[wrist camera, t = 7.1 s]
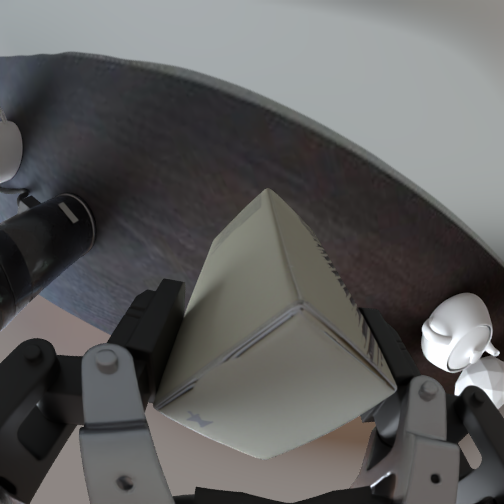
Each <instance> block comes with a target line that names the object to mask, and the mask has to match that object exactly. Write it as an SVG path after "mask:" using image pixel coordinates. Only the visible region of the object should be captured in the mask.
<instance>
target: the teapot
mask: <svg viewBox="0 0 504 504" xmlns="http://www.w3.org/2000/svg"><path fill="white" fill-rule="evenodd" d="M492 331H493V329H492V324H491V320H490V316H489V313H488V310H487V308H486V306H485V304H484V302H483V301H482V300H481V298H479V297H478V296H477V295H475V294H472V293H461V294H457V295H455V296H453V297H451V298H449V299H447V300H445V301H444V302H442V303H441V304H440V305H439V306H438V307H437V308H436V309H435V310H434V312H433V313H432V314H431V316H430V318H429V319H427V320H426V321H425V322H424V324H423V326H422V332H423V334H422V338H421V347H422V351H423V353H424V355H425V357H426V358H427V359H428V360H429V361H430V362H431V363H433V364H434V365H436V366H437V367H439V368H441V369H443V370H445V371H447V372H451V373H455V372H459V371H462V370H464V369H466V368H467V367H469V366H470V365H472V364H474V363H476V362H477V361H478V360H479V359H480V358H481V356H482V354H483V352H484V351H486V352H488V353H490V354H491V355H493V356H498V355H499V354H500V352H499V351H498V350H497V349H495V347H494V346H493V345H492V343H491V342H490V340H491V337H492Z"/></svg>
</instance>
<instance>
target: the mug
mask: <svg viewBox="0 0 504 504" xmlns="http://www.w3.org/2000/svg"><path fill="white" fill-rule="evenodd" d="M0 117H1V119H2V121H0V183H2V182H5V181H7V180H10V179H11V178H12V177H13V176H15V174H16V172H17V171H18V168H19V166H20V163H21V158H22V149H23V145H22V137H21V133H20V131H19V129H18V127H17V125H16V124H15V123H14V122H11V121H7V119H6V116H5V114H4V112H3V110H2V108H1V107H0Z"/></svg>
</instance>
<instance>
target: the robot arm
mask: <svg viewBox="0 0 504 504" xmlns="http://www.w3.org/2000/svg"><path fill="white" fill-rule="evenodd" d="M0 192H1V193H5V194H17V193H22V194H20V195H19V196H18V198H17V204H18V207H19V208H18V213H17V215H15V216H13V217H11V218H9V219H7V220H5V221H3V222H1V223H0V331H2V329H4V328H5V327H6V326H7V325H8V324H9V323H10V322H11V321H12V319H13V318H14V317H15V316H16V315H17V314H18V313H19V312H20V311H21V310H22V309H23V308H24V307H25V306H27V304H28V303H29V302H31V300H33V299H34V298H35V297H36V296H37V295H38V294H39V293H40V292H41V291H42V290H43V289H44V288H46V287H47V286H48V285H49V284H50V283H51V282H52V281H53V280H54V279H56V278H57V277H58V276H59V275H60V274H61V273H62V272H64V271H65V270H66V269H67V268H68V267H69V266H71V265H72V264H73V263H74V262H75V261H77V260H78V259H79V258H80V257H82V256H84V255H85V254H86V253H87V252H89V251H90V249H91V248H92V247H93V245H94V242H95V238H96V224H95V219H94V216H93V214H92V212H91V210H90V208H89V206H88V205H87V204H86V202H85V201H84V200H83V199H81V198H80V197H79V196H77V195H75V194H72V193H63V194H60V195H58V196H56V197H54V198H52V199H50V200H48V201H45V202H43V203H40V202H39V201H38V200H36V199H35V198H34V197H33V196H29V197H27V196H28V195H29V192H28V190H27V189H6V188H2V187H0ZM26 197H27V198H26ZM184 305H185V282H181V281H175V280H170V279H163V280H162V282H161V284H160V285H159V287H158V289H157V290H156V291H152V290H146V291H144V292H143V293H141V294H140V295H138V296H136V298H135V299H134V301H133V302H132V304H131V306H130V307H129V309H128V310H127V312H126V314H125V315H124V316H123V318H122V319H121V321H120V322H119V324H118V326H117V327H116V329H115V330H114V332H113V333H112V335H111V337H110V338H109V340H108V342H107V343H103V344H98V345H96V346H93V347H92V348H90V349H89V350H88V351H87V352H86V353H85V354H84V356H64V355H56V352H55V349H54V347H53V345H52V344H51V343H50V342H48V341H47V340H44V339H39V338H34V339H29V340H26V341H24V342H22V343H21V344H20V345H18V346H17V347H16V349H14V350H13V351H12V352H11V353H10V354H9V355H8V356H7V357H6V358H5V359H4V360H3V361H2V362H1V363H0V504H30V502H31V500H32V498H33V497H34V495H35V493H36V491H37V490H38V488H39V486H40V484H41V483H42V481H43V479H44V477H45V476H46V474H47V473H48V471H49V469H50V467H51V466H52V464H53V463H54V461H55V459H56V458H57V456H58V454H59V453H60V451H61V450H62V448H63V446H64V445H65V443H66V441H67V439H68V438H69V437H70V435H71V433H72V432H73V431H74V429H75V427H76V426H77V425H84V427H81V428H80V430H79V441H80V451H81V458H82V464H83V470H84V476H85V481H86V486H87V490H88V495H89V500H90V504H504V418H503V417H502V415H501V414H500V412H499V411H498V409H497V408H496V406H495V405H494V403H493V402H492V401H491V399H490V398H489V396H488V395H487V394H486V392H485V391H484V390H482V389H481V388H479V387H477V386H474V385H469V386H467V387H465V389H464V390H463V391H462V392H461V394H460V395H459V396H457V395H451V394H446V393H445V391H444V389H443V387H442V386H441V385H440V384H439V383H438V382H437V381H436V380H435V379H433V378H431V377H428V376H424V375H421V374H420V372H419V370H418V369H417V367H416V365H415V363H414V361H413V359H412V358H411V356H410V354H409V352H408V350H406V347H405V345H404V343H402V340H401V338H400V336H399V335H398V333H397V331H396V330H394V329H393V328H392V327H391V326H390V325H389V324H388V323H386V322H385V320H384V319H383V317H382V315H381V313H380V312H379V310H377V309H370V308H358V309H359V311H360V312H361V314H362V316H363V318H364V319H365V321H366V324H367V325H368V327H369V329H370V331H371V333H372V335H373V337H374V338H375V340H376V342H377V344H378V346H379V348H380V350H381V353H382V355H383V357H384V359H385V361H386V363H387V365H388V368H389V370H390V372H391V374H392V376H393V379H394V381H395V383H396V385H397V390H396V391H395V393H394V394H392V395H391V396H389V397H388V398H386V399H384V400H383V401H382V402H380V403H379V404H377V405H376V406H374V407H373V408H371V409H369V410H368V411H366V412H365V413H363V414H361V415H360V416H361V419H362V422H375V423H376V427H375V428H374V429H373V430H372V432H371V435H370V439H369V442H368V446H367V449H366V453H365V456H364V459H363V463H362V466H361V469H360V472H359V475H358V477H357V478H356V480H355V481H354V482H353V484H352V485H351V486H350V488H349V489H344V490H336V491H332V492H328V493H325V494H322V495H319V496H316V497H313V498H309V499H306V500H302V501H298V502H295V503H284V502H279V501H274V500H270V499H266V498H262V497H258V496H254V495H250V494H247V493H243V492H233V491H232V492H231V491H223V490H215V489H207V488H201V487H196V489H195V494H193V495H180V496H173V497H172V495H171V492H170V490H169V487H168V484H167V482H166V479H165V476H164V474H163V471H162V468H161V465H160V462H159V459H158V456H157V453H156V450H155V446H154V443H153V440H152V437H151V433H150V430H149V426H148V423H147V420H146V417H145V410H146V407H147V404H148V402H149V403H154V400H155V397H156V394H157V391H158V388H159V385H160V382H161V379H162V376H163V373H164V370H165V367H166V364H167V362H168V359H169V356H170V353H171V350H172V348H173V345H174V342H175V340H176V337H177V334H178V331H179V329H180V326H181V323H182V321H183V318H184ZM468 433H469V434H470V436H471V438H472V439H473V441H474V443H475V445H476V446H477V448H478V450H479V452H480V453H481V456H482V462H481V465H480V466H479V468H477V469H472V468H471V467H470V465H469V463H468V461H467V459H466V457H465V456H464V454H463V452H462V450H461V448H460V446H459V445H458V442H459V441H461V440H462V439H463V438H464V437H465V436H466V435H467V434H468Z"/></svg>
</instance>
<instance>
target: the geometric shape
mask: <svg viewBox="0 0 504 504" xmlns="http://www.w3.org/2000/svg"><path fill="white" fill-rule="evenodd" d="M469 385H474V386H477V387H479V388H481V389H482V390H484V391H485V392H486V394H487V395H488V396H489V398H490V399H491V401H492V402H493V403H494V405H495V406H496V408H497V409H499V408H500V407H501V406H502V405H503V404H504V362H503V361H501V360H499V359H497V358H496V357H494V356H492V355H491V356H488V357H484V358H480V359H479V360H478V361H477V362H476V363H474V364H472V365H470V366H469V367H467V368H466V369H464V370H463V371H462V373H461V375H460V377H459V378H458V380H457V382H456V386H455V395H457V396H459V395H460V394H461V392H462V391H463V390H464V389H465V387H467V386H469Z"/></svg>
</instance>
